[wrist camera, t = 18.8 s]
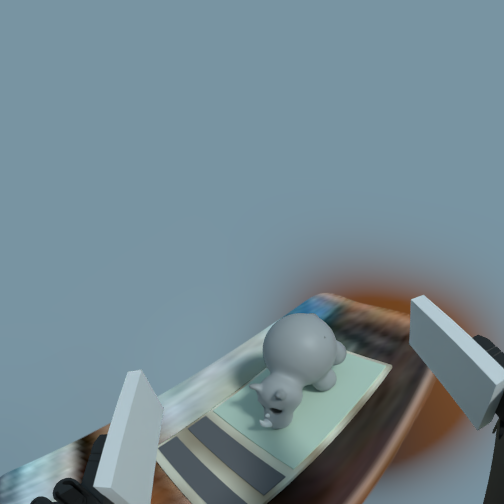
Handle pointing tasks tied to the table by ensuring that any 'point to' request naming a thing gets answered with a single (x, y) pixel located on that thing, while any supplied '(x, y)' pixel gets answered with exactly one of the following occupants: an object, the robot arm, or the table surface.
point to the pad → (302, 411)
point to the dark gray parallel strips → (228, 451)
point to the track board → (233, 480)
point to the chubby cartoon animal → (296, 365)
